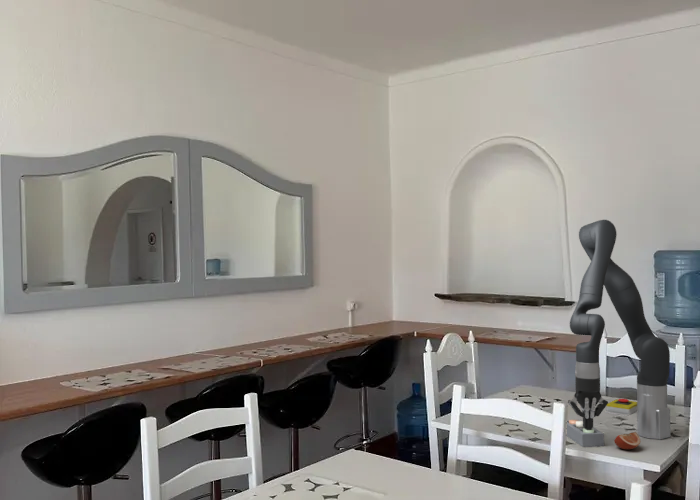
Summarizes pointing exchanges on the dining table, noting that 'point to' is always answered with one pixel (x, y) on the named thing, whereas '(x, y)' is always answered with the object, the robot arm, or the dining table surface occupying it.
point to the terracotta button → (573, 421)
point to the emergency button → (621, 407)
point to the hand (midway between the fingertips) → (588, 429)
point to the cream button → (579, 424)
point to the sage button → (588, 431)
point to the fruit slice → (627, 440)
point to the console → (585, 436)
